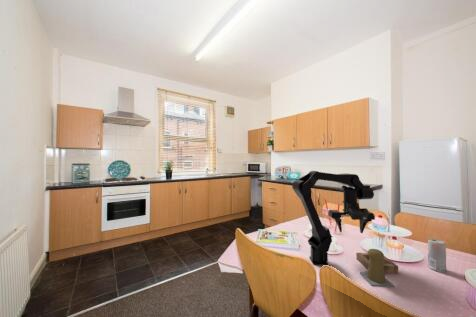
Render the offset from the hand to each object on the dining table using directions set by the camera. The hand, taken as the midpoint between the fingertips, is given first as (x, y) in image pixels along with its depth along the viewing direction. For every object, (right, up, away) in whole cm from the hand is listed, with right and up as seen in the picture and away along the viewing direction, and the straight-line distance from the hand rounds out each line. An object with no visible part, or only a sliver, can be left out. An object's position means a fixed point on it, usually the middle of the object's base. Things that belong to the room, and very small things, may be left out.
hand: (351, 232), depth 92 cm
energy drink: (+31, -12, -10) cm, 35 cm away
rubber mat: (0, -12, -17) cm, 21 cm away
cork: (0, -12, -17) cm, 20 cm away
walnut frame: (+7, -12, -7) cm, 16 cm away
